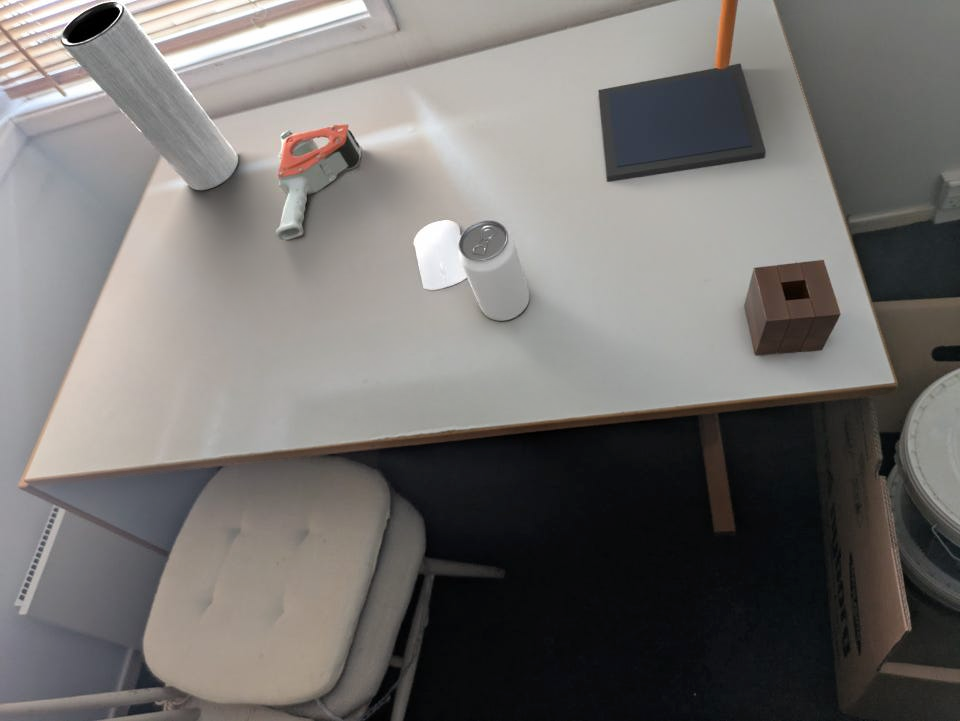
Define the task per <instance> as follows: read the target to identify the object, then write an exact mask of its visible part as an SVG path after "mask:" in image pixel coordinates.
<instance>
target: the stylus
mask: <svg viewBox="0 0 960 721" xmlns="http://www.w3.org/2000/svg"><path fill="white" fill-rule="evenodd" d="M738 4H739V0H721V4H720V12H719V23H718V31H717V32H718V33H717V40H716V50H715V56H714V57H715V58H714V67H715V68H717V69H725V68H727V67H728V66H730V65H731V64H730V63H731V55H732V47H733V41H734V33H735V27H736V18H737V10H738Z"/></svg>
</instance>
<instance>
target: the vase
mask: <svg viewBox="0 0 960 721" xmlns="http://www.w3.org/2000/svg"><path fill="white" fill-rule="evenodd" d="M60 43H61V44H60V45H61V46H62V47H63V48H64V49H65V50H66V51H67V52H68V54H70V55H71V57H72V58H73V59H74V60H75V61H76V62H77V63H78V64H79V65H80V67H81V68H82V69H83V71H85V72H86V74H88V76H90V78H91V79H92V80H93V82H95V84H97V86H99V88H100V89H101V90H102V92H104V94H106V95H107V96H108V98H109V99H110V100H111V101H112V102H113V104H115V106H116V107H117V108H118V109H119V110H120V111H121V112H122V114H123V115H125V117H126V118H127V119H128V120H129V121H130V122H131V123H132V124H133V125H134V127H135V128H136V129H137V130H138V132H140V133H141V134H142V135H143V137H144V138H145V139H146V140H147V141H148V142H149V143H150V144H151V146H152V147H153V148H154V149H155V150H156V151H157V153H159V155H160V156H161V157H162V158H163V159H164V160H165V162H167V163H168V164H169V165H170V167H171V168H172V169H173V170H174V171H175V172H176V173H177V175H178V176H180V178H181V179H182V180H183V181H184V182H185V183H186V184H187V186H188V187H190V188H191V189H193V190H196V191H205V190H206V191H207V190H209V189H214V188H216V187H217V186H219V185H222V184H223V183H224V182H226V180H228V179H229V178H230V177H231V176H232V175H233V174H234V172H235V170H236V168H237V166H238V163H239V157H238V154H237V153H236V151H235V149H234V148H233V147H232V145H231V144H230V143H229V142H228V140H227V139H226V137H225V136H224V135H223V133H222V132H221V131H220V130H219V128H218V127H217V126H216V124H215V123H214V122H213V120H212V119H211V117H209V116H210V115H208V114H207V112H206V111H205V109H204V108H203V107H202V106H201V105H200V103H199V101H198V100H197V99H196V98H195V96H194V95H193V93H191V91H190V90H189V89H188V88H187V86H186V84H185V83H184V82H183V81H182V79H181V78H180V77H179V76H178V74H177V73H176V71H175V70H174V69H173V67H172V66H171V65H170V63H169V62H168V60H166V58H165V57H164V55H163V54H162V53H161V51H160V50H159V49H158V48H157V46H156V45H155V44H154V42H153V41H152V40H151V38H150V37H149V36H148V35H147V33H146V32H145V30H144V29H143V28H142V27H141V25H140V24H139V23H138V21H137V20H136V19H135V17H134V16H133V14H132V13H131V12H130V10H129V9H128V8H127V7H126V5H125V4H124V3H122V2H120V1H116V0H110V1H104V2H101V3H98V4H95V5H93V6H91V7H88V8H87V9H85V10H84V11H82V12H80V13H79V14H77V15H76V16H75V17H74V18H72V20H70V21H69V22H68V23H67V24H66V26H64V28H63V30H62V32H61V34H60Z"/></svg>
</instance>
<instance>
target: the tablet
mask: <svg viewBox="0 0 960 721" xmlns="http://www.w3.org/2000/svg"><path fill="white" fill-rule="evenodd" d="M747 84H748V83H747V81H746V78H745V74H744V69H743V66H742V63H735V64H729V66H728V67H727V68H725V69H717V68H716V67H715V68H708V69H703V70H698V71H697V70H696V71H692V72H687V73H682V74H677V75H670V76H666V77H661V78H655V79H648V80H643V81H639V82H634V83H628V84H622V85H618V86H612V87H607V88H602V89H601V88H600V89H598V90H597V92H598V103H599V113H600V123H601V133H602V144H603V153H604V155H603V156H604V164H605V175H606V182H612V181H613V182H614V181H619V180H625V179H626V180H627V179H633V178H639V177H645V176H646V177H647V176H652V175H658V174H665V173H672V172H680V171H687V170H693V169H700V168H705V167H711V166H712V167H713V166H719V165H726V164H732V163H739V162H744V161H745V162H746V161H752V160H758V159H765V157H766V154H767V153H766V152H767V151H766V148H765V144H764V141H763V137H762V133H761V130H760V127H759V123H758V119H757V116H756V113H755V109H754V105H753V102H752V99H751V95H750V92H749V88H748V85H747Z"/></svg>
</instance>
